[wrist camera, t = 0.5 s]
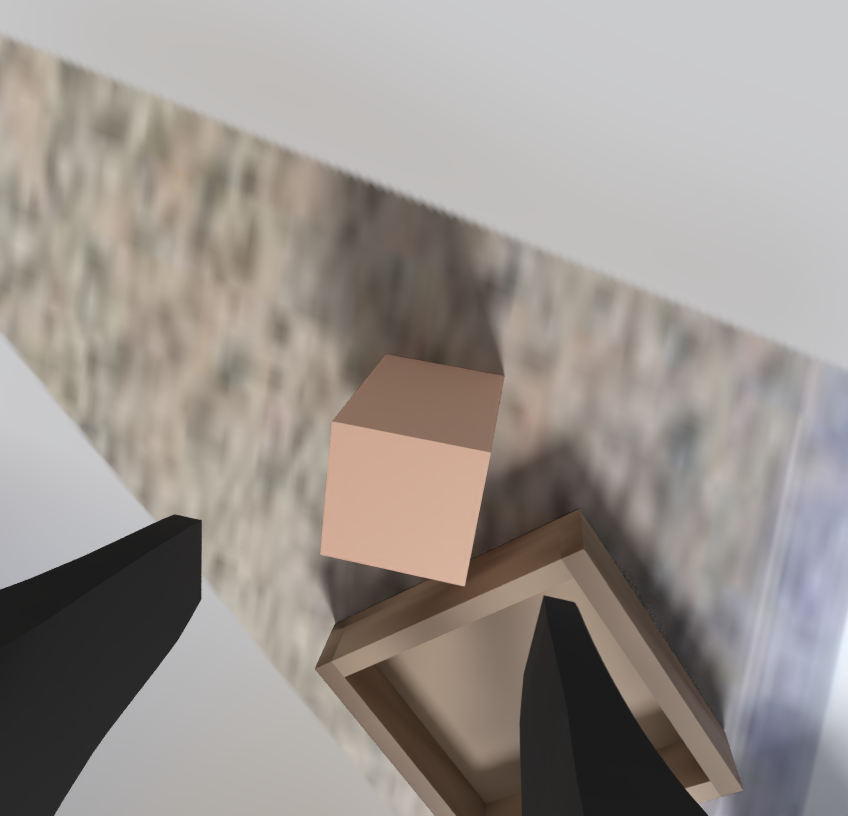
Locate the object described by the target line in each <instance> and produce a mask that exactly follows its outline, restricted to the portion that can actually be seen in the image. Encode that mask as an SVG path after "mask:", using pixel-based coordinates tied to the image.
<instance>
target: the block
mask: <svg viewBox="0 0 848 816" xmlns="http://www.w3.org/2000/svg"><path fill="white" fill-rule="evenodd" d="M503 382H504V376H502V375H497V374H491V373H486V372H480V371H475V370H470V369H464V368H459V367H453V366H448V365H442V364H437V363H432V362H426V361H421V360H415V359H410V358H404V357H399V356H394V355H388V354H386V355H385V356H384V357H383V358H382V360H381V361H380V362H379V363H378V365H377V366H376V367H375V368H374V370H373V371H372V372H371V373H370V375H369V376H368V377H367V378H366V380H365V381H364V382H363V383H362V385H361V386H360V387H359V388H358V390H357V391H356V392H355V393H354V395H353V396H352V397H351V398H350V400H349V401H348V402H347V403H346V405H345V406H344V407H343V408H342V410H341V411H340V412H339V413H338V415H337V416H336V417H335V418H334V420H333V421H332V428H331V440H330V451H329V462H328V474H327V485H326V496H325V508H324V519H323V530H322V542H321V553H320V555H325V556H329V557H334V558H338V559H343V560H347V561H352V562H356V563H361V564H365V565H370V566H374V567H379V568H383V569H388V570H392V571H397V572H401V573H406V574H410V575H415V576H419V577H424V578H429V579H433V580H438V581H442V582H447V583H451V584H456V585H460V586H465V583H466V578H467V572H468V567H469V562H470V557H471V552H472V547H473V542H474V537H475V531H476V526H477V521H478V516H479V511H480V506H481V501H482V496H483V490H484V485H485V480H486V475H487V470H488V465H489V460H490V454H491V449H492V443H493V438H494V432H495V427H496V421H497V415H498V410H499V404H500V398H501V393H502V387H503Z"/></svg>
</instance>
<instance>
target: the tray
mask: <svg viewBox="0 0 848 816" xmlns="http://www.w3.org/2000/svg"><path fill="white" fill-rule="evenodd" d="M544 595H545V596H550V597H554V598H559V599H563V600H568V601H572V602H575V603H576V605H577V606H578V608H579V610H580V613H581V615H582V617H583V620H584V622H585V624H586V627H587V629H588V631H589V633H590V635H591V638H592V640H593V642H594V644H595V646H596V648H597V650H598V652H599V654H600V656H601V658H602V660H603V662H604V664H605V666H606V668H607V670H608V671H609V673H610V675H611V677H612V679H613V681H614V682H615V684H616V686H617V688H618V690H619V692H620V693H621V695H622V697H623V698H624V700H625V702H626V704H627V705H628V707H629V709H630V710H631V712H632V713H633V715H634V717H635V718H636V720H637V722H638V723H639V725H640V726H641V728H642V729H643V731H644V733H645V734H646V736H647V737H648V739H649V740H650V742H651V743H652V745H653V746H654V747H655V749H656V750H657V752H658V753H659V755H660V756H661V757H662V759H663V760H664V761H665V763H666V764H667V766H668V767H669V768H670V770H671V771H672V772H673V774H674V775H675V776H676V778H677V779H678V780H679V781H680V783H681V784H682V785H683V786H684V788H685V789H686V790H687V791H688V792H689V794H690V795H691V796H692V797H693V798H694V800H695V801H696V802H697V803H701V802H704V801H708V800H711V799H715V798H719V797H722V796H726V795H729V794H733V793H736V792H740V791H743V788H742V785H741V781H740V778H739V775H738V772H737V769H736V766H735V762H734V759H733V756H732V753H731V750H730V747H729V744H728V740H727V737H726V734H725V731H724V730H723V728H722V727H721V725H720V724H719V722H718V720H717V719H716V717H715V716H714V714H713V713H712V711H711V710H710V708H709V707H708V705H707V704H706V702H705V700H704V699H703V697H702V696H701V694H700V693H699V691H698V690H697V688H696V687H695V685H694V684H693V682H692V680H691V679H690V677H689V676H688V674H687V673H686V671H685V670H684V668H683V667H682V665H681V664H680V662H679V661H678V659H677V657H676V656H675V654H674V653H673V651H672V650H671V648H670V647H669V645H668V644H667V642H666V641H665V639H664V637H663V636H662V634H661V633H660V631H659V630H658V628H657V627H656V625H655V624H654V622H653V621H652V619H651V617H650V616H649V614H648V613H647V611H646V610H645V608H644V607H643V605H642V604H641V602H640V601H639V599H638V597H637V596H636V594H635V593H634V591H633V590H632V588H631V587H630V585H629V584H628V582H627V581H626V579H625V578H624V576H623V574H622V573H621V571H620V570H619V568H618V567H617V565H616V564H615V562H614V561H613V559H612V558H611V556H610V554H609V553H608V551H607V550H606V548H605V547H604V545H603V544H602V542H601V541H600V539H599V538H598V536H597V534H596V533H595V531H594V530H593V528H592V527H591V525H590V524H589V522H588V521H587V519H586V518H585V516H584V514H583V513H582V511H581V510H580V509H578V510H576V511H574V512H572V513H569V514H567V515H565V516H563V517H561V518H559V519H557V520H555V521H552V522H550V523H548V524H546V525H544V526H542V527H540V528H538V529H535V530H533V531H531V532H529V533H527V534H525V535H523V536H521V537H518V538H516V539H514V540H512V541H510V542H508V543H506V544H504V545H501V546H499V547H497V548H495V549H493V550H491V551H489V552H487V553H484V554H482V555H480V556H478V557H476V558H474V559H472V560H470V562H469V567H468V572H467V578H466V583H465V586H460V585H456V584H451V583H447V582H442V581H438V580H433V579H429V580H427V581H425V582H423V583H421V584H418V585H416V586H414V587H412V588H410V589H408V590H406V591H404V592H401V593H399V594H397V595H395V596H393V597H391V598H389V599H387V600H384V601H382V602H380V603H378V604H376V605H374V606H372V607H370V608H367V609H365V610H363V611H361V612H359V613H357V614H355V615H353V616H350V617H348V618H346V619H344V620H342V621H340V622H338V623H335V625H334V627H333V629H332V632H331V634H330V636H329V638H328V641H327V643H326V645H325V647H324V649H323V652H322V654H321V656H320V658H319V661H318V663H317V665H316V667H315V670H316V671H317V672H318V673H319V675H320V676H321V677H322V678H323V679H324V681H325V682H326V683H327V684H328V686H329V687H330V688H331V689H332V691H333V692H334V693H335V694H336V695H337V697H338V698H339V699H340V700H341V702H342V703H343V704H344V705H345V706H346V708H347V709H348V710H349V711H350V713H351V714H352V715H353V716H354V717H355V719H356V720H357V721H358V722H359V724H360V725H361V726H362V727H363V728H364V730H365V731H366V732H367V733H368V735H369V736H370V737H371V738H372V739H373V741H374V742H375V743H376V744H377V746H378V747H379V748H380V749H381V750H382V752H383V753H384V754H385V755H386V757H387V758H388V759H389V760H390V761H391V763H392V764H393V765H394V766H395V768H396V769H397V770H398V771H399V772H400V774H401V775H402V776H403V777H404V779H405V780H406V781H407V782H408V784H409V785H410V786H411V787H412V788H413V790H414V791H415V792H416V793H417V795H418V796H419V797H420V798H421V799H422V801H423V802H424V803H425V804H426V806H427V807H428V808H429V809H430V810H431V812H432V813H433V814H434V815H435V816H522V800H521V767H520V727H519V722H520V709H521V697H522V686H523V675H524V670H525V666H526V662H527V659H528V655H529V651H530V647H531V643H532V639H533V635H534V631H535V627H536V623H537V619H538V615H539V611H540V607H541V603H542V599H543V596H544Z"/></svg>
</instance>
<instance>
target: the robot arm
mask: <svg viewBox="0 0 848 816" xmlns="http://www.w3.org/2000/svg"><path fill="white" fill-rule="evenodd" d="M201 555H202V520H198V519H193V518H189V517H184V516H180V515H172V516H169V517H167V518H165V519H162V520H160V521H158V522H156V523H153V524H151V525H149V526H147V527H145V528H143V529H141V530H138V531H136V532H134V533H132V534H130V535H128V536H126V537H124V538H122V539H119V540H117V541H115V542H113V543H111V544H109V545H106V546H104V547H102V548H100V549H98V550H96V551H94V552H92V553H89V554H87V555H85V556H83V557H80V558H78V559H76V560H73V561H71V562H69V563H66V564H64V565H61V566H59V567H57V568H54V569H52V570H49V571H47V572H45V573H42V574H40V575H38V576H35V577H33V578H30V579H28V580H25V581H23V582H20V583H17V584H14V585H12V586H9V587H6V588H4V589H1V590H0V816H54V815H55V813H56V811H57V810H58V808H59V806H60V805H61V803H62V801H63V800H64V797H65V796H66V795H67V793H68V792H69V790H70V788H71V787H72V785H73V784H74V782H75V780H76V779H77V777H78V775H79V774H80V772H81V771H82V769H83V768H84V766H85V765H86V763H87V761H88V760H89V758H90V756H91V755H92V753H93V752H94V750H95V749H96V748H97V746H98V745H99V744H100V742H101V741H102V739H103V738H104V737H105V735H106V734H107V732H108V731H109V730H110V728H111V727H112V726H113V724H114V723H115V722H116V721H117V719H118V718H119V717H120V715H121V714H122V713H123V711H124V710H125V709H126V708H127V706H128V705H129V704H130V702H131V701H132V700H133V698H134V697H135V696H136V694H137V693H138V692H139V691H140V689H141V688H142V687H143V686H144V684H145V683H146V682H147V680H148V679H149V678H150V676H151V675H152V674H153V673H154V671H155V670H156V669H157V667H158V666H159V665H160V663H161V662H162V661H163V659H164V658H165V657H166V655H167V654H168V653H169V651H170V650H171V649H172V647H173V646H174V644H175V643H176V642H177V640H178V639H179V637H180V635H181V634H182V632H183V631H184V629H185V627H186V625H187V624H188V622H189V620H190V618H191V617H192V615H193V613H194V611H195V610H196V608H197V606H198V604H199V602H200V601H201ZM519 727H520V767H521V800H522V816H708V815H707V814H706V812H705V811H704V810H703V809H702V808H701V807H700V805H699V804H698V803H697V802H696V801H695V800H694V798H693V797H692V796H691V795H690V794H689V792H688V791H687V790H686V789H685V788H684V786H683V785H682V784H681V783H680V781H679V780H678V779H677V778H676V776H675V775H674V774H673V772H672V771H671V770H670V768H669V767H668V766H667V764H666V763H665V761H664V760H663V759H662V757H661V756H660V755H659V753H658V752H657V750H656V749H655V747H654V746H653V745H652V743H651V742H650V740H649V739H648V737H647V736H646V734H645V733H644V731H643V729H642V728H641V726H640V725H639V723H638V722H637V720H636V718H635V717H634V715H633V713H632V712H631V710H630V709H629V707H628V705H627V704H626V702H625V700H624V698H623V697H622V695H621V693H620V692H619V690H618V688H617V686H616V684H615V682H614V681H613V679H612V677H611V675H610V673H609V671H608V670H607V668H606V666H605V664H604V662H603V660H602V658H601V656H600V654H599V652H598V650H597V648H596V646H595V644H594V642H593V640H592V638H591V635H590V633H589V631H588V629H587V627H586V624H585V622H584V620H583V617H582V615H581V613H580V610H579V608H578V606H577V605H576V603H575V602H572V601H568V600H563V599H559V598H554V597H550V596H545V595H544V596H543V599H542V603H541V607H540V611H539V615H538V619H537V623H536V627H535V631H534V635H533V639H532V643H531V647H530V651H529V655H528V659H527V662H526V666H525V670H524V675H523V686H522V697H521V709H520V722H519Z"/></svg>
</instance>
